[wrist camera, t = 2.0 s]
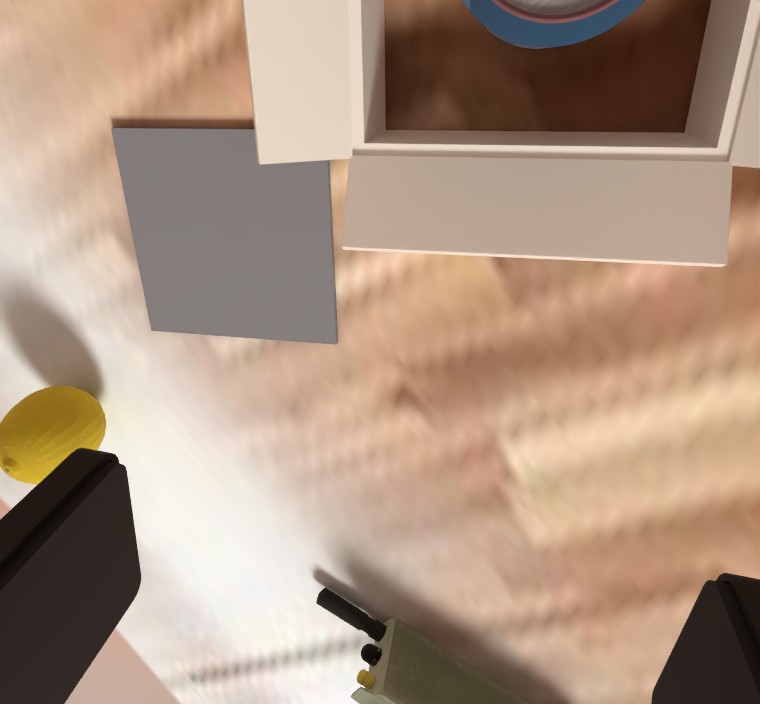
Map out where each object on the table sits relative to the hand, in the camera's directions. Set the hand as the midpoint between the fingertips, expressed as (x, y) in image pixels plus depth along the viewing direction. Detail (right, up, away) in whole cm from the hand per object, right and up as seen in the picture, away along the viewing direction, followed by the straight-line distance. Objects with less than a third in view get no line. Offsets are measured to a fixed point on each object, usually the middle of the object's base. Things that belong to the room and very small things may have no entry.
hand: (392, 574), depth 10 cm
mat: (-9, +10, +25) cm, 28 cm away
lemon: (-20, 0, +32) cm, 38 cm away
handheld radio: (+6, -21, +38) cm, 43 cm away
